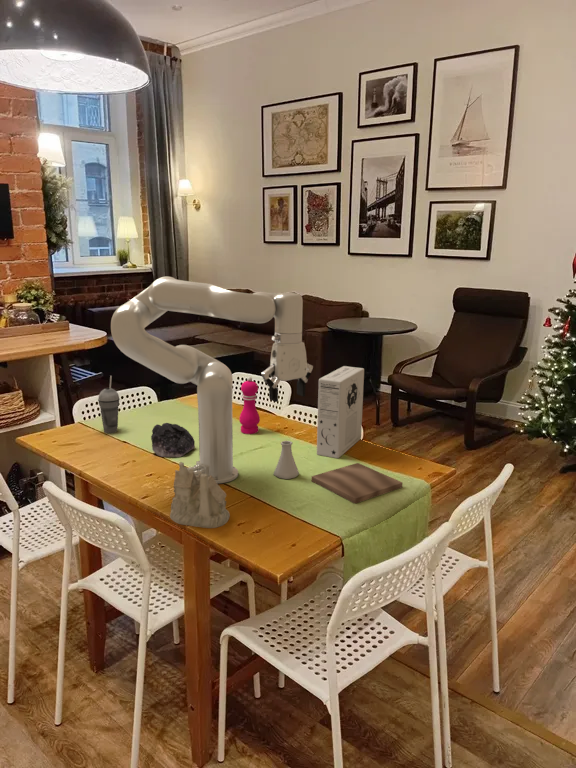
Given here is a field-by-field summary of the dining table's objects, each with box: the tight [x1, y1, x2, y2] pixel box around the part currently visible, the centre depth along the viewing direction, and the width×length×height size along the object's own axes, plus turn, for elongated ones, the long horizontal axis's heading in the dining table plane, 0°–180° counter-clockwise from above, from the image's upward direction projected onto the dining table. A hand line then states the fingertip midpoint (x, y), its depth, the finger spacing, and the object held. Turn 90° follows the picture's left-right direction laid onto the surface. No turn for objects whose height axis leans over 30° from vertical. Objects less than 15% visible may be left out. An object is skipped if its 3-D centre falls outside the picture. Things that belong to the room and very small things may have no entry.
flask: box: [272, 440, 300, 480], centre depth 173 cm, size 7×7×10 cm
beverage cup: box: [97, 375, 120, 434], centre depth 208 cm, size 7×7×20 cm
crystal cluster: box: [150, 422, 195, 458], centre depth 191 cm, size 13×14×10 cm
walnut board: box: [311, 462, 403, 505], centre depth 168 cm, size 18×18×2 cm
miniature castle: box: [169, 461, 231, 529], centre depth 149 cm, size 16×16×15 cm
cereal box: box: [316, 365, 365, 459], centre depth 195 cm, size 22×8×25 cm, turn 154°
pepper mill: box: [239, 376, 261, 435], centre depth 210 cm, size 7×7×20 cm
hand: (287, 398), depth 169 cm, fingers open, 9 cm apart
